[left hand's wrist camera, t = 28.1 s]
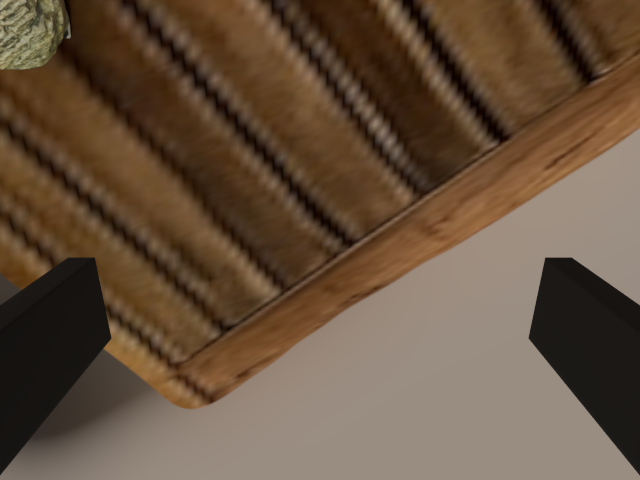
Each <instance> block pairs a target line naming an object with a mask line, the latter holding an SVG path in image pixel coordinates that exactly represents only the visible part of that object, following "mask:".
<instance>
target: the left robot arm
mask: <svg viewBox="0 0 640 480" xmlns="http://www.w3.org/2000/svg"><path fill="white" fill-rule="evenodd" d="M110 339H111V334H110V329H109V324H108V320H107V315H106V310H105V305H104V300H103V296H102V291H101V286H100V281H99V276H98V271H97V267H96V262H95V258H67V259H66V260H64V261H63V262H61V263H60V264H59V265H57V266H56V267H54V268H53V269H51V270H50V271H49V272H47V273H46V274H44V275H43V276H41V277H40V278H39V279H37V280H36V281H34V282H33V283H31V284H30V285H29V286H27V287H26V288H24V289H23V290H21V291H20V292H19V293H17V294H16V295H14V296H13V297H12V298H10V299H9V300H7V301H6V302H4V303H3V304H2V305H0V475H1V474H2V472H3V471H4V470H5V469H6V467H7V466H8V465H9V464H10V463H11V461H12V460H13V459H14V458H15V456H16V455H17V454H18V453H19V451H20V450H21V449H22V448H23V446H24V445H25V444H26V443H27V442H28V440H29V439H30V438H31V437H32V435H33V434H34V433H35V432H36V431H37V429H38V428H39V427H40V425H41V424H42V423H43V422H44V421H45V419H46V418H47V417H48V416H49V414H50V413H51V412H52V411H53V410H54V408H55V407H56V406H57V405H58V403H59V402H60V401H61V400H62V399H63V397H64V396H65V395H66V393H67V392H68V391H69V390H70V389H71V387H72V386H73V385H74V384H75V382H76V381H77V380H78V379H79V378H80V376H81V375H82V374H83V373H84V371H85V370H86V369H87V368H88V366H89V365H90V364H91V363H92V362H93V360H94V359H95V358H96V357H97V355H98V354H99V353H100V352H101V350H102V349H103V348H104V347H105V346H106V344H107V343H108V342H109V341H110ZM529 339H530V341H531V342H532V343H533V344H534V346H535V347H536V348H537V349H538V350H539V352H540V353H541V354H542V355H543V357H544V358H545V359H546V360H547V362H548V363H549V364H550V365H551V366H552V368H553V369H554V370H555V371H556V373H557V374H558V375H559V376H560V378H561V379H562V380H563V381H564V383H565V384H566V385H567V386H568V387H569V389H570V390H571V391H572V392H573V394H574V395H575V396H576V397H577V399H578V400H579V401H580V402H581V403H582V405H583V406H584V407H585V408H586V410H587V411H588V412H589V413H590V415H591V416H592V417H593V418H594V419H595V421H596V422H597V423H598V424H599V426H600V427H601V428H602V429H603V430H604V432H605V433H606V434H607V435H608V437H609V438H610V439H611V440H612V442H613V443H614V444H615V445H616V447H617V448H618V449H619V450H620V451H621V453H622V454H623V455H624V456H625V458H626V459H627V460H628V461H629V463H630V464H631V465H632V466H633V467H634V469H635V470H636V471H637V472H638V474H639V475H640V305H638V304H637V303H636V302H634V301H633V300H631V299H630V298H628V297H627V296H626V295H624V294H623V293H621V292H620V291H619V290H617V289H616V288H614V287H613V286H611V285H610V284H609V283H607V282H606V281H604V280H603V279H601V278H600V277H599V276H597V275H596V274H594V273H593V272H591V271H590V270H589V269H587V268H586V267H584V266H583V265H581V264H580V263H579V262H577V261H576V260H574V259H573V258H545V262H544V267H543V271H542V276H541V281H540V286H539V291H538V296H537V300H536V305H535V310H534V315H533V320H532V324H531V329H530V334H529Z"/></svg>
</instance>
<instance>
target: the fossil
mask: <svg viewBox="0 0 640 480" xmlns="http://www.w3.org/2000/svg"><path fill="white" fill-rule="evenodd" d="M70 37H71V33H70V23H69V17H68V14H67V11H66V8H65V3H64V0H0V70H3V69H18V70H19V69H30V68H34V67H41V66H43V65H45V64H46V63H47V62H48V61H49V59H50V58H51V57H52V56H53V55H54V54H55V53H56V50H57V46H58V45H59V44H60V43H61V42H62V39H63V38H70Z"/></svg>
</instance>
